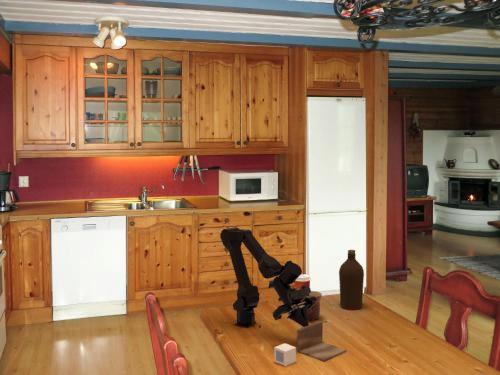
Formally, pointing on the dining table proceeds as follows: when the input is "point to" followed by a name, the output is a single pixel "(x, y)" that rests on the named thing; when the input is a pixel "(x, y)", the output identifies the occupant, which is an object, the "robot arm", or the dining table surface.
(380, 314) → the dining table surface
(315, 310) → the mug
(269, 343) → the dining table surface
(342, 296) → the olive oil
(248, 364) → the dining table surface
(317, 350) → the bookend
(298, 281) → the paper cup
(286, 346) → the letter cube
